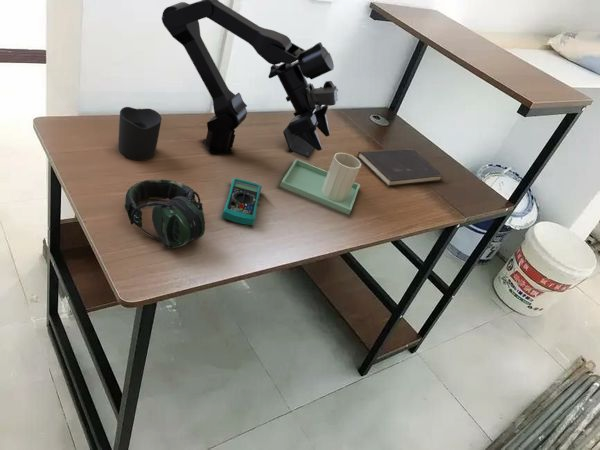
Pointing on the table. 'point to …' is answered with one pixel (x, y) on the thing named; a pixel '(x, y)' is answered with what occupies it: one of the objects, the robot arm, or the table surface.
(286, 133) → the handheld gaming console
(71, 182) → the table surface
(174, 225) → the headphones
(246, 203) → the digital multimeter
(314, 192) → the tray
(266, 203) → the table surface
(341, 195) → the cup
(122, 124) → the pen holder
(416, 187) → the table surface
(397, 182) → the hardcover book
